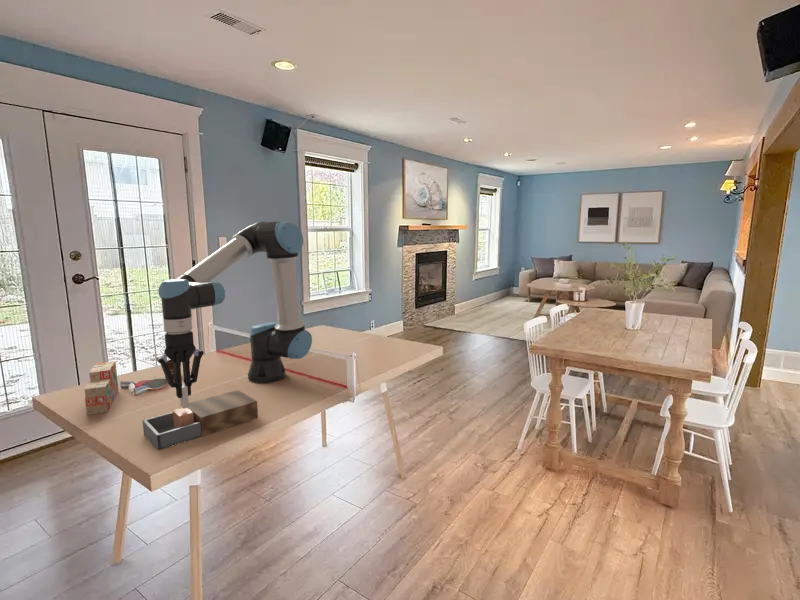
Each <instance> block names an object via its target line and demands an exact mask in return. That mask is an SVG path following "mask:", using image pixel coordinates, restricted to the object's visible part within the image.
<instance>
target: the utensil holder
mask: <svg viewBox="0 0 800 600" xmlns="http://www.w3.org/2000/svg"><path fill="white" fill-rule="evenodd" d="M166 363H167V364H168V367H169V369H170V372H171V374H172V377H173V380H175V378H174V366H173V361H171V360H170V359H167V362H166ZM164 377H165V376H164ZM165 379H166V377H165Z"/></svg>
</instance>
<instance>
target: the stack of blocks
mask: <svg viewBox="0 0 800 600" xmlns="http://www.w3.org/2000/svg"><path fill="white" fill-rule="evenodd" d="M117 372H118V371H117V364H116V361H115V360H114V361H106V362H105V361H104V362H97V363H95V364H94V365H93V366H92V368H91V369H90V371H89V382H88V383H87V384H86V386H85V387H84V401H85V409H86V415H87V416H88V415H95V414H102V413H109V411H110V409H111V407H112V405H113V404H112V403H114V401H115V399H116V397H117V396H118V394H119V392H120V391H119V383H118V382H119V381H118V373H117ZM118 391H119V392H118ZM117 393H118V394H117ZM116 395H117V396H116ZM115 396H116V397H115Z"/></svg>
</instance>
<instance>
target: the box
mask: <svg viewBox="0 0 800 600" xmlns="http://www.w3.org/2000/svg"><path fill="white" fill-rule="evenodd" d="M142 428H143V435H144V436H145V437H146V438H147V439H148V440H149V442H150V443H151V444H152V445H153V446H154V448H156V450H157V451H161V450H164V449H168V448H170V446H171V447H173V446H172V445H174V446H176V445H175V444H177V445H179V444H178V443H180V444H182V443H181V442H183V443H185V442H184V441H186V442H189V441H192V440H195V439H198V438H197V437H199V438H201V437H202V436H201V424H200V422H197V423H193V424H190V425H186V426H183V427H180V428H176V429H174V421H173V411H171V412H167V413H164V414H159V415H156V416H152V417H148V418H146V419H145V418H144V419H142ZM200 436H201V437H200ZM194 438H195V439H194ZM191 439H192V440H191ZM188 440H189V441H188Z"/></svg>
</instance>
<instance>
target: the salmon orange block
mask: <svg viewBox="0 0 800 600" xmlns="http://www.w3.org/2000/svg"><path fill="white" fill-rule="evenodd" d="M172 412H173V421H174V429H176V428H180V427H183V426H186V425H190V424H193V423H194V414H193V412H192V411H191V410H190V409H188V408H183V407H181V408H176V409H173V410H172Z"/></svg>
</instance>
